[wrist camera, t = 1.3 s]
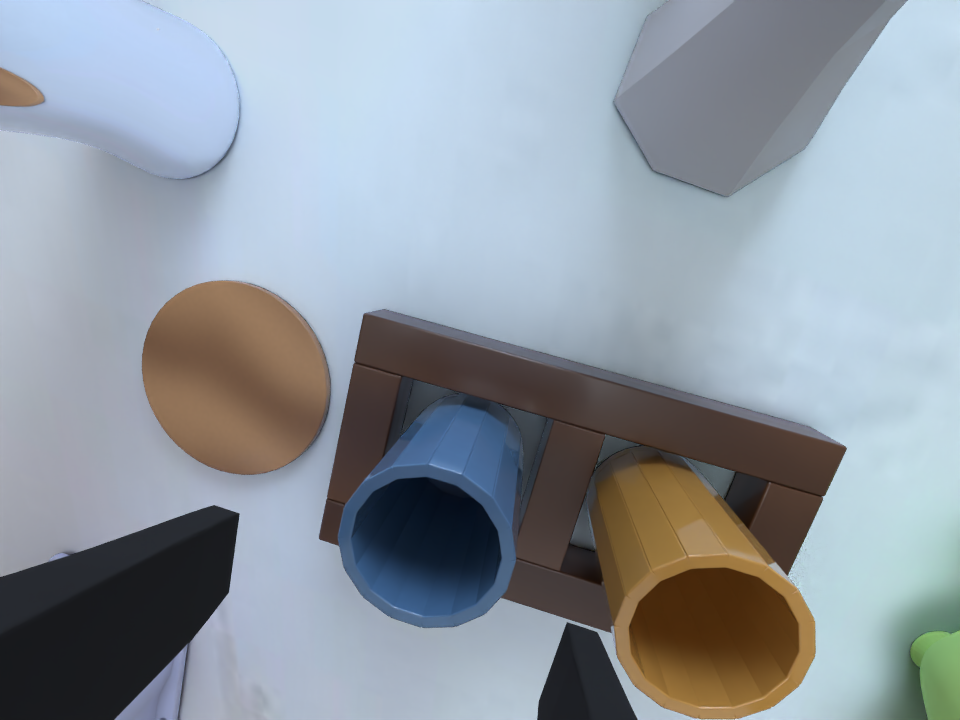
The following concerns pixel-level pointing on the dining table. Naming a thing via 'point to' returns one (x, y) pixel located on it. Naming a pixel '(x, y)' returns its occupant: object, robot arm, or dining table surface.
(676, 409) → the cup holder
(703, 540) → the ochre cup
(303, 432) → the coaster
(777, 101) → the flask
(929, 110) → the dining table surface
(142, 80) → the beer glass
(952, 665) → the teapot
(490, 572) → the blue cup
